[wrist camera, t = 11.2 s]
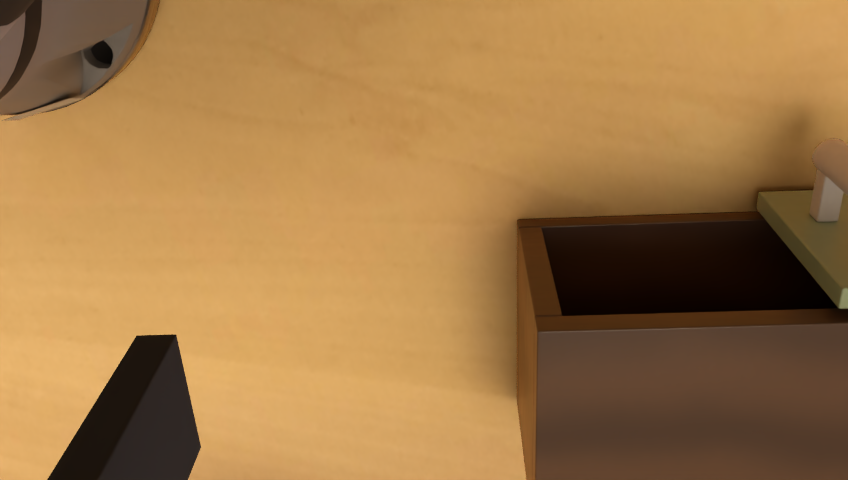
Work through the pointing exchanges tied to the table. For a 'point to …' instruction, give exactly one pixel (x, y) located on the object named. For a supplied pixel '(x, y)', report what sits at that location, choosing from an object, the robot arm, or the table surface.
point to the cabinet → (676, 352)
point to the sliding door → (817, 220)
